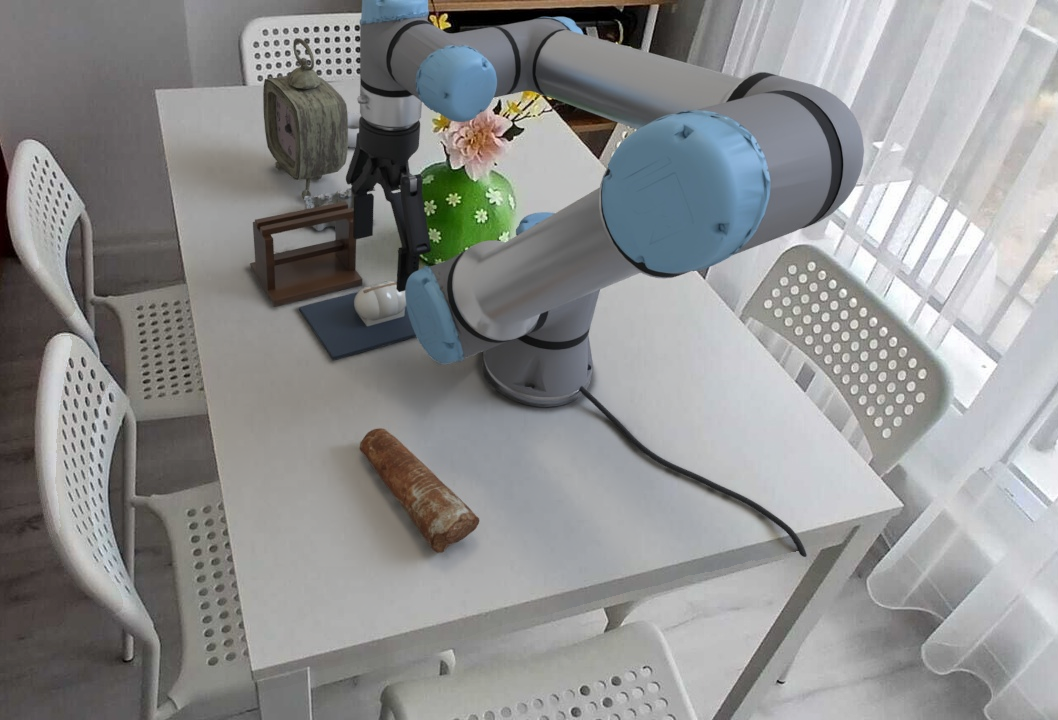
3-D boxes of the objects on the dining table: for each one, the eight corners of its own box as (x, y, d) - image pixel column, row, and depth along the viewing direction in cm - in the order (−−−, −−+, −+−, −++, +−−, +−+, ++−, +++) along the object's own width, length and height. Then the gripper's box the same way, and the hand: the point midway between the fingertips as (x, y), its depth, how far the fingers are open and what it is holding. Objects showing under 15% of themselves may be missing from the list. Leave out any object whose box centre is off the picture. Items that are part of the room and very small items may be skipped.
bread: (434, 566, 98) (438, 534, 95) (351, 453, 110) (352, 421, 106) (481, 543, 101) (486, 511, 98) (395, 435, 113) (397, 404, 109)
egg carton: (367, 206, 152) (368, 185, 150) (372, 231, 147) (373, 209, 144) (303, 207, 150) (303, 185, 147) (306, 232, 145) (306, 210, 142)
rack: (362, 285, 136) (364, 223, 128) (274, 307, 129) (271, 243, 122) (335, 249, 142) (335, 189, 134) (250, 269, 136) (246, 206, 128)
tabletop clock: (266, 166, 159) (259, 27, 142) (312, 157, 163) (311, 20, 146) (301, 207, 150) (298, 63, 134) (349, 196, 154) (352, 55, 138)
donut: (356, 156, 165) (388, 136, 171) (356, 139, 163) (389, 120, 169) (314, 138, 168) (347, 120, 175) (313, 121, 166) (347, 103, 173)
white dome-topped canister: (412, 317, 130) (415, 289, 127) (362, 331, 126) (363, 303, 123) (397, 298, 133) (399, 270, 130) (347, 311, 129) (348, 283, 126)
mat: (459, 324, 131) (459, 321, 130) (333, 360, 122) (333, 357, 122) (421, 279, 138) (421, 275, 138) (299, 310, 129) (299, 306, 129)
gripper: (320, 81, 116) (322, 221, 129) (409, 170, 100) (401, 319, 114) (373, 73, 119) (369, 211, 133) (467, 158, 103) (452, 305, 117)
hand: (384, 261), depth 123 cm, fingers open, 13 cm apart
